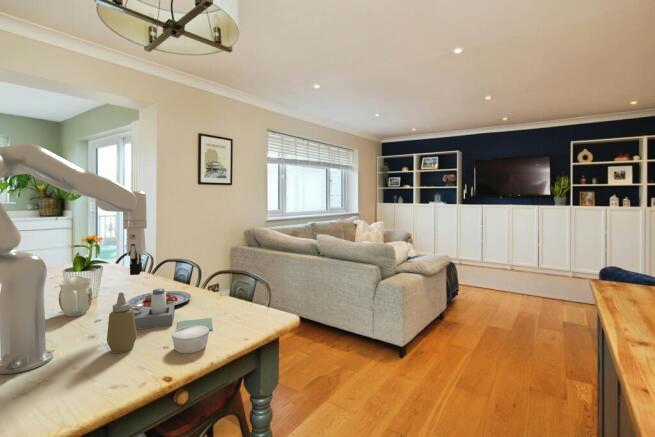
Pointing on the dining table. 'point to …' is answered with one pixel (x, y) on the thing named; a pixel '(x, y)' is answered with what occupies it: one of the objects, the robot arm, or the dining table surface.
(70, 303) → the pitcher
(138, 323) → the housing
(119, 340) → the squeeze bottle
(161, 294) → the cylinder
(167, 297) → the ceramic plate
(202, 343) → the ramekin
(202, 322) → the mat
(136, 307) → the plunger
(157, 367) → the dining table surface
